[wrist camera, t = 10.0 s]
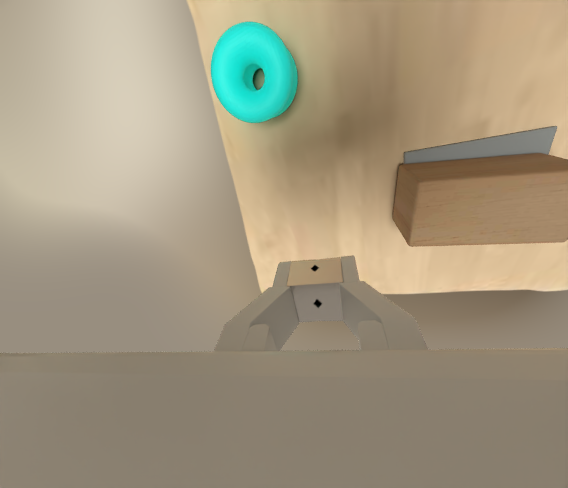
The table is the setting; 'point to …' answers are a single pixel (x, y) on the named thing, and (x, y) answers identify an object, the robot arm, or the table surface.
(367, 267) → the table surface
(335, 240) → the table surface
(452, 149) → the rubber mat
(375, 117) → the table surface
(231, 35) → the donuts
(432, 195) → the wooden block
